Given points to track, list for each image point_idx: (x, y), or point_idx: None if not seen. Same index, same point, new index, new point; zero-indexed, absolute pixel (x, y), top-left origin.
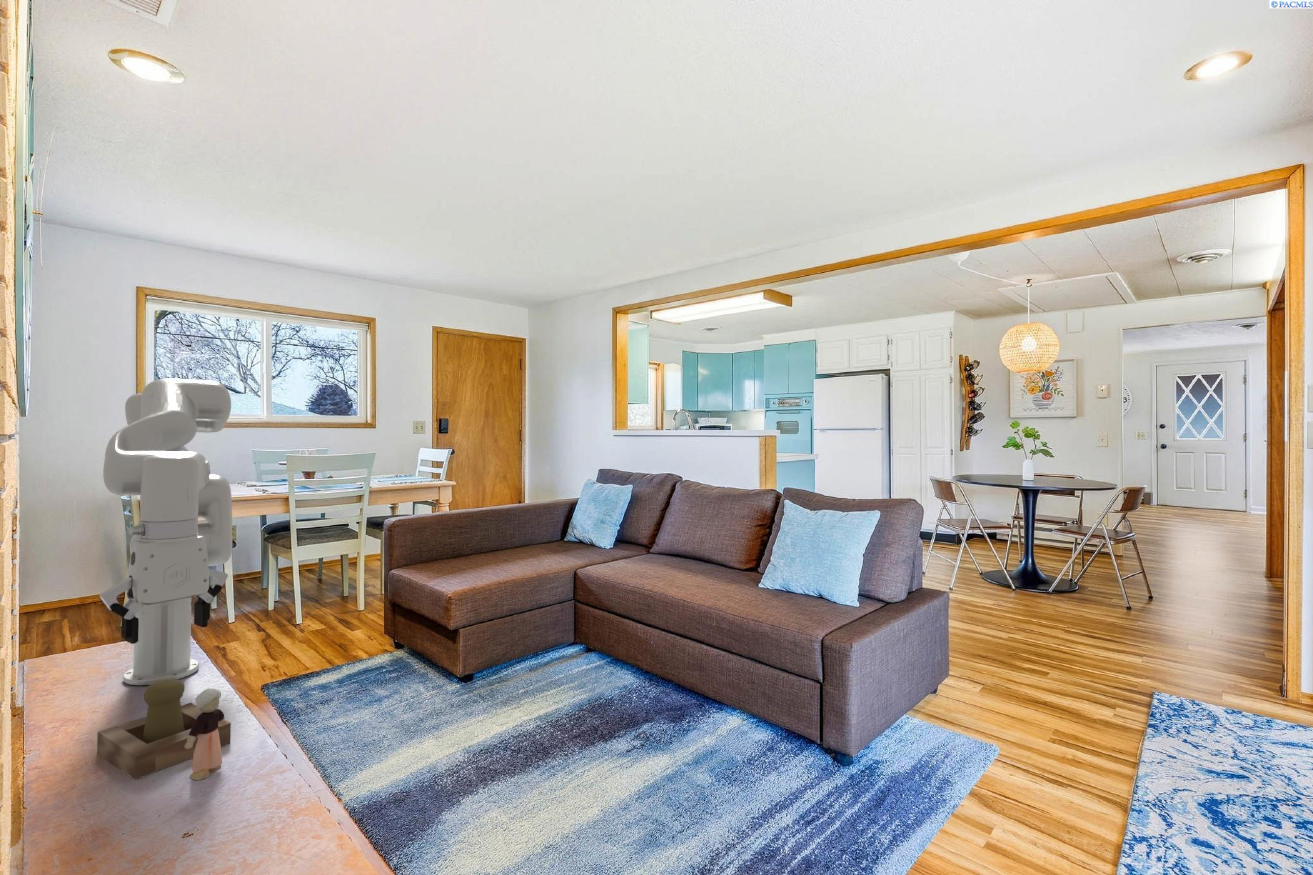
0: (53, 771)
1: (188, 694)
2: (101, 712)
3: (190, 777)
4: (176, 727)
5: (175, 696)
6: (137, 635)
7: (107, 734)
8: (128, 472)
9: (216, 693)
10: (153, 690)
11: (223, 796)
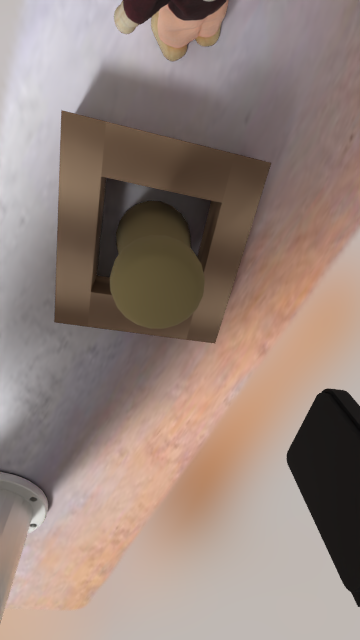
0: (266, 320)
1: (5, 410)
2: (119, 444)
3: (219, 33)
4: (149, 216)
5: (156, 235)
6: (345, 416)
7: (217, 317)
8: None
9: None
10: (199, 279)
11: None
